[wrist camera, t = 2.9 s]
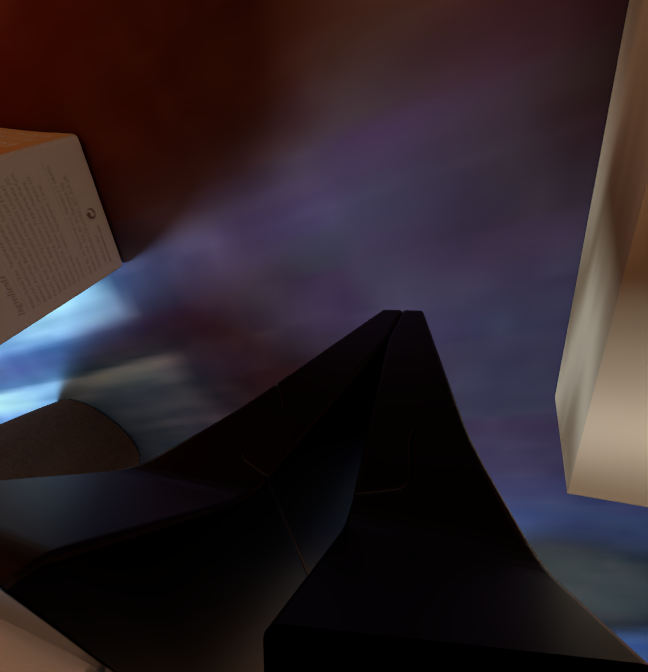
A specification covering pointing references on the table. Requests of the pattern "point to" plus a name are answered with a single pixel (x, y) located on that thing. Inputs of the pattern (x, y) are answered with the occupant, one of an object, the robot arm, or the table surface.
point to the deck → (612, 301)
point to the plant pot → (63, 443)
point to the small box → (47, 227)
